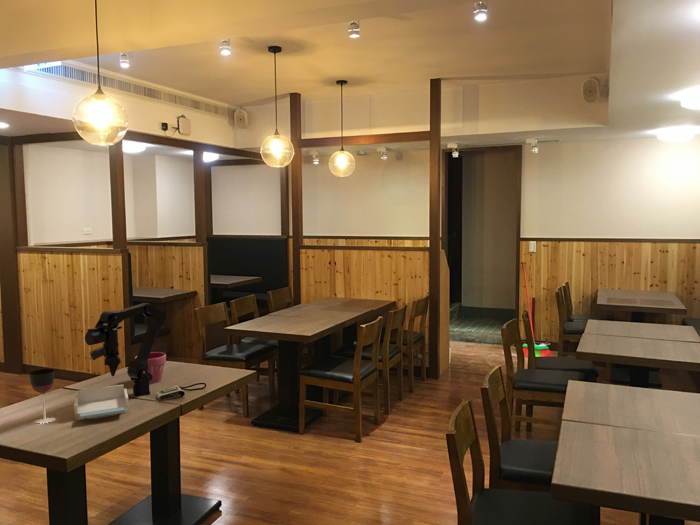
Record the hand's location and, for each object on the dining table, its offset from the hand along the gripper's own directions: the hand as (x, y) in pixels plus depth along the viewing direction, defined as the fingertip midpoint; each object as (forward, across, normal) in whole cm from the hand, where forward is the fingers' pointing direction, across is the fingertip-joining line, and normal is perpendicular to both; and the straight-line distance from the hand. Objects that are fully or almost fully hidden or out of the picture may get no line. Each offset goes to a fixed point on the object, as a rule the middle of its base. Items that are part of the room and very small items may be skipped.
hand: (112, 376), depth 242 cm
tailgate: (+10, +15, -5) cm, 18 cm away
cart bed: (+12, +8, -5) cm, 15 cm away
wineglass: (+12, +10, -26) cm, 30 cm away
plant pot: (+12, -27, +18) cm, 35 cm away
